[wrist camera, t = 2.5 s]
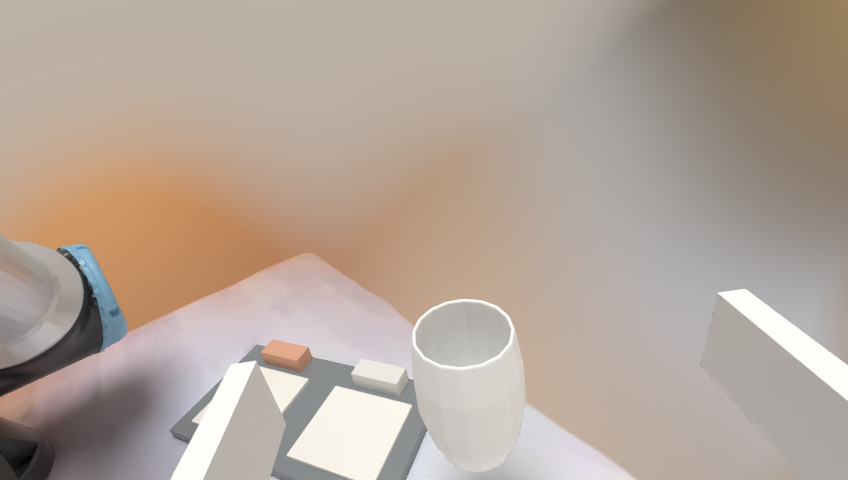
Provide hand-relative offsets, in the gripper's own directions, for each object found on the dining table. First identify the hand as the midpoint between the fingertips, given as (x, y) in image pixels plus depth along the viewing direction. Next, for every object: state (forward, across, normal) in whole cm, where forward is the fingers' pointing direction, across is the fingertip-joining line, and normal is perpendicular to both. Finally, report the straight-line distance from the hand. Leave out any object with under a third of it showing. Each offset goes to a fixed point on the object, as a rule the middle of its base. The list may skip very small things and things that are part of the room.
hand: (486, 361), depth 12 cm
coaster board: (+23, -18, -28) cm, 41 cm away
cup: (+10, 0, -28) cm, 30 cm away
